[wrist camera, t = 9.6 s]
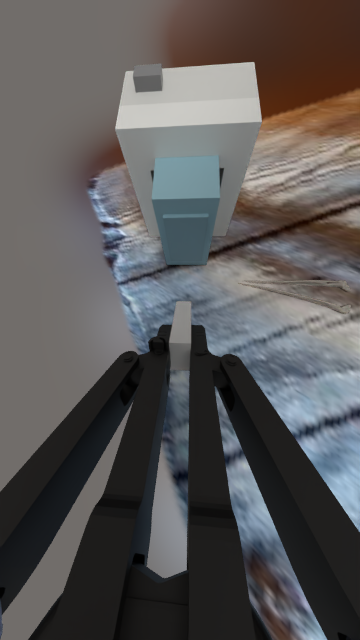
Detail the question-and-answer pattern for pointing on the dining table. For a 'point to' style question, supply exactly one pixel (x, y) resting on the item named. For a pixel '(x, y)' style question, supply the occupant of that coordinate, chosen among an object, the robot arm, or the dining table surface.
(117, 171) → the dining table surface
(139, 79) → the socket
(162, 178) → the plug
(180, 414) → the dining table surface
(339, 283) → the tweezers
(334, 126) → the dining table surface
